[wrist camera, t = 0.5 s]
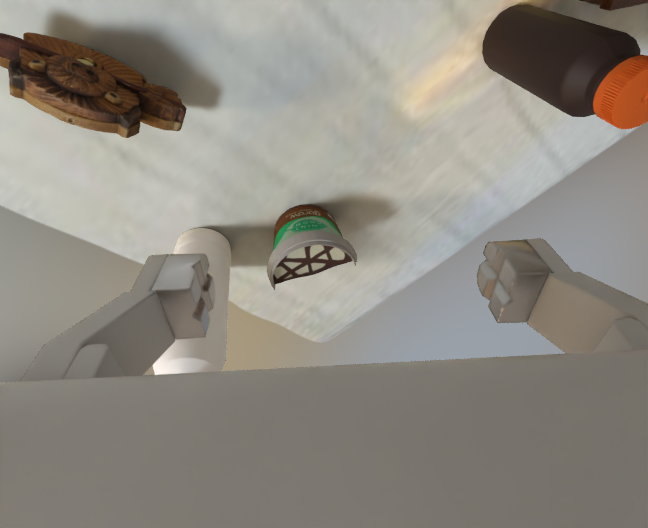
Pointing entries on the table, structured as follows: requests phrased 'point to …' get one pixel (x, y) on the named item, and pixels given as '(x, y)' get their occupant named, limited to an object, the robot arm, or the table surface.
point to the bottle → (212, 348)
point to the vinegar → (571, 64)
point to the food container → (306, 244)
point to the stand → (615, 3)
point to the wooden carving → (86, 86)
